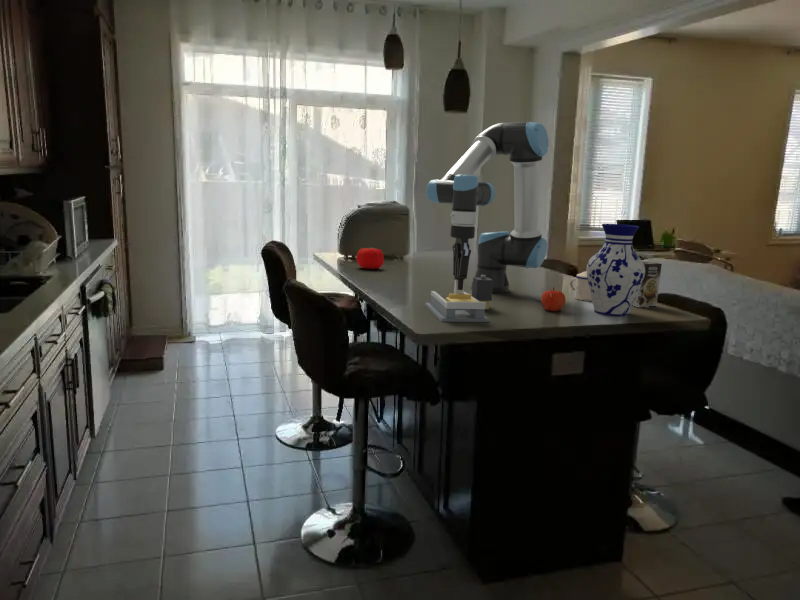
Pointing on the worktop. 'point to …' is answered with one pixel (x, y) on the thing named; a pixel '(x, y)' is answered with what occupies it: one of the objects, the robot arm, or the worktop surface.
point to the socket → (456, 310)
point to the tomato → (370, 258)
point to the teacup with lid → (581, 287)
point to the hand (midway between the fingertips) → (458, 299)
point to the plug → (482, 289)
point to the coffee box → (649, 286)
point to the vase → (615, 271)
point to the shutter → (460, 298)
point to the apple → (553, 300)
